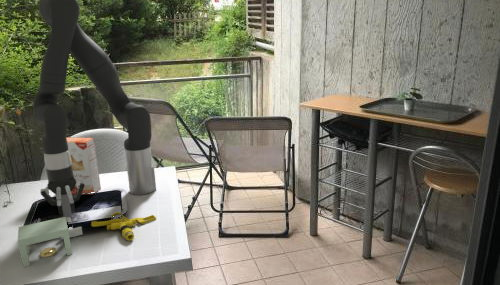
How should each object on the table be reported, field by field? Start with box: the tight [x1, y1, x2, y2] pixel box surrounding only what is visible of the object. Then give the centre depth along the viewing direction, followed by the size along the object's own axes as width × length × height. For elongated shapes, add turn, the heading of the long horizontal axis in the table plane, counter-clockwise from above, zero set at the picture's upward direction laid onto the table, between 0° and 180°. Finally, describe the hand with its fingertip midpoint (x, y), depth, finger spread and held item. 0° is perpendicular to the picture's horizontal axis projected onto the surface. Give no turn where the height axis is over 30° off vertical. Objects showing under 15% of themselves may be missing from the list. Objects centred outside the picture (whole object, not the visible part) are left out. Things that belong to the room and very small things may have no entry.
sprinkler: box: [90, 211, 157, 241], centre depth 124 cm, size 19×4×15 cm
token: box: [39, 246, 57, 258], centre depth 113 cm, size 4×4×1 cm
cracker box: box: [66, 136, 101, 195], centre depth 150 cm, size 14×6×21 cm, turn 83°
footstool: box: [17, 216, 73, 268], centre depth 111 cm, size 12×8×8 cm, turn 117°
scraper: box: [60, 194, 83, 240], centre depth 126 cm, size 6×16×9 cm, turn 28°
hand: (67, 213), depth 132 cm, fingers closed on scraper
